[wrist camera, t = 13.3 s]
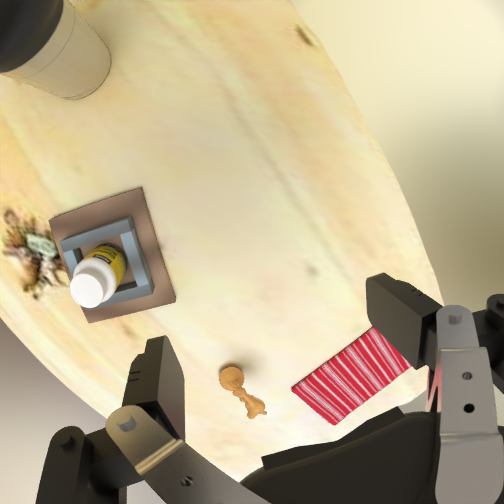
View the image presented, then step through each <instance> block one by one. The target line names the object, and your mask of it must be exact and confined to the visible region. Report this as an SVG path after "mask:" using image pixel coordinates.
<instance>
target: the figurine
mask: <svg viewBox="0 0 504 504" xmlns="http://www.w3.org/2000/svg"><path fill="white" fill-rule="evenodd" d="M219 381H220V384H221V386H222V387H223V388H224V389H226V390H229V391H233V395H234V396H237V397H239V398H240V401H241V402H245V406H246V408H247V410H248V413H247V417H248V418H249V419H253V418H254V417H255V416H256V415H257V414H263V415H266V414H267V412H266V411H264V409H265V404H264V403H263V401H262V400H260V399H258V398H256V397H254V396H252V395H249V394H247V393H246V391H245V389H244V388H242V387H241V386H242V385H243V383H244V375H243V373H242V372H241V370H239V369H238V368H236V367H228V368H225V369H224V370H223V371H222V372H221V373H220V376H219Z"/></svg>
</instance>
